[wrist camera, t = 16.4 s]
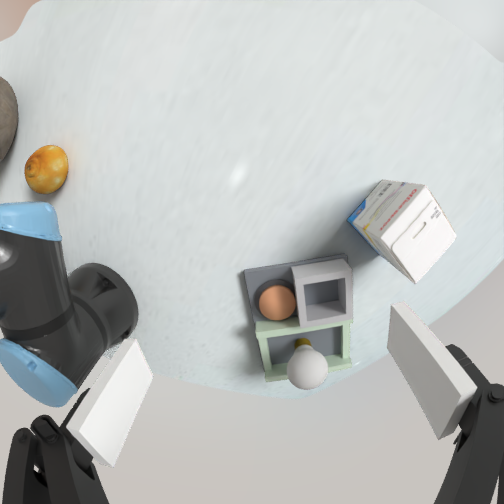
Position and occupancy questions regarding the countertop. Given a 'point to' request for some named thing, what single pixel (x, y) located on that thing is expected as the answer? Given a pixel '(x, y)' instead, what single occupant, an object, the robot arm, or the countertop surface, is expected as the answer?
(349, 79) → the countertop surface
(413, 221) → the ink box
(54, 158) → the fruit
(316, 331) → the compartment tray
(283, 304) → the checker pad
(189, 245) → the countertop surface
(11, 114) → the bowl
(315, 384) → the light bulb
